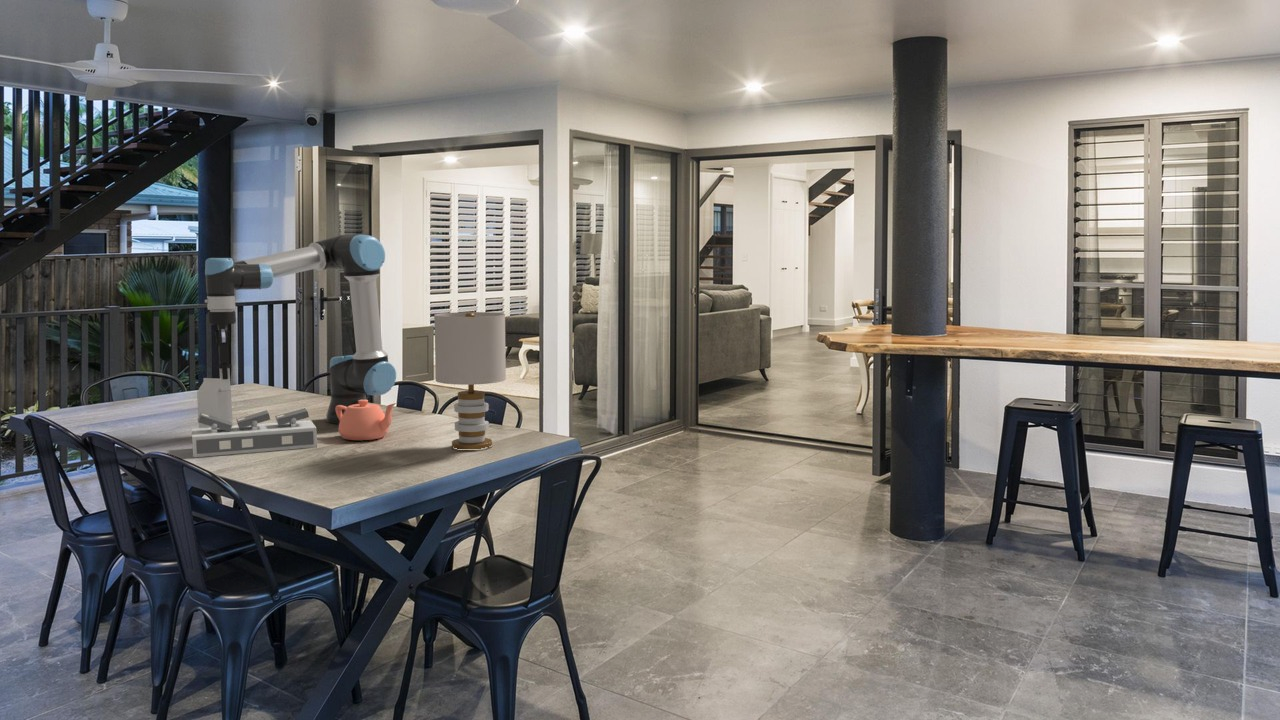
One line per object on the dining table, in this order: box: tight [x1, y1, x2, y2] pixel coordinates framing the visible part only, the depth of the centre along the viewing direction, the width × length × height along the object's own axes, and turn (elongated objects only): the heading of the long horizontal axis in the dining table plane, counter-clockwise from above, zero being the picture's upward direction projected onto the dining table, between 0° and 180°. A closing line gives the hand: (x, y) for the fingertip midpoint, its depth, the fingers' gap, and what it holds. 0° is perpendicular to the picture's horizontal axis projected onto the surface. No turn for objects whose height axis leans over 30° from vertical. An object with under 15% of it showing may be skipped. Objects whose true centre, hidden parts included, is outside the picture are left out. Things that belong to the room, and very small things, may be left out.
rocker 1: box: [197, 413, 232, 432], centre depth 275 cm, size 9×6×3 cm
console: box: [191, 419, 318, 458], centre depth 280 cm, size 34×15×7 cm, turn 116°
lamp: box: [433, 311, 507, 449], centre depth 281 cm, size 21×21×41 cm
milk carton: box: [196, 377, 234, 428], centre depth 295 cm, size 7×7×19 cm
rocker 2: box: [274, 407, 310, 425], centre depth 285 cm, size 9×6×3 cm
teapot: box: [335, 399, 397, 441], centre depth 295 cm, size 22×15×12 cm
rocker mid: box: [236, 409, 271, 429], centre depth 280 cm, size 9×6×3 cm
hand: (225, 389), depth 275 cm, fingers closed
